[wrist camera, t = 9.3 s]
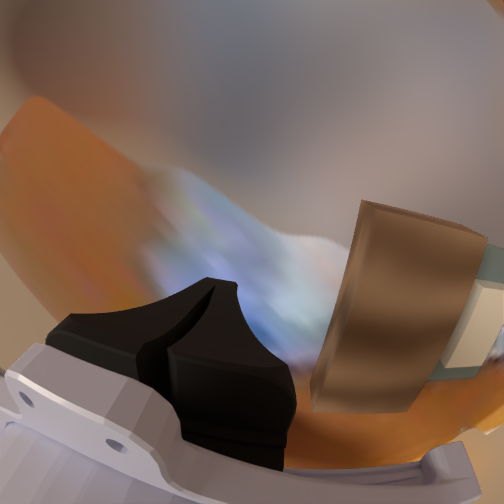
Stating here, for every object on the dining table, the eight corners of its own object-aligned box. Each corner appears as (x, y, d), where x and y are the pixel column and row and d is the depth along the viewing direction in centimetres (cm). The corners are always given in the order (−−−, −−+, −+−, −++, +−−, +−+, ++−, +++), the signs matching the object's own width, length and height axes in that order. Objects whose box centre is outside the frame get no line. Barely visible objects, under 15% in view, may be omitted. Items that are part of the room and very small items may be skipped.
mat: (473, 375, 24) (474, 377, 24) (400, 379, 25) (400, 381, 25) (528, 256, 19) (529, 257, 19) (459, 236, 20) (460, 237, 19)
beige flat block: (444, 368, 22) (437, 356, 23) (481, 365, 21) (474, 355, 23) (483, 287, 19) (472, 278, 20) (517, 292, 18) (506, 284, 20)
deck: (396, 385, 25) (406, 412, 22) (309, 382, 26) (312, 412, 22) (461, 224, 19) (488, 238, 16) (361, 199, 20) (378, 209, 16)
